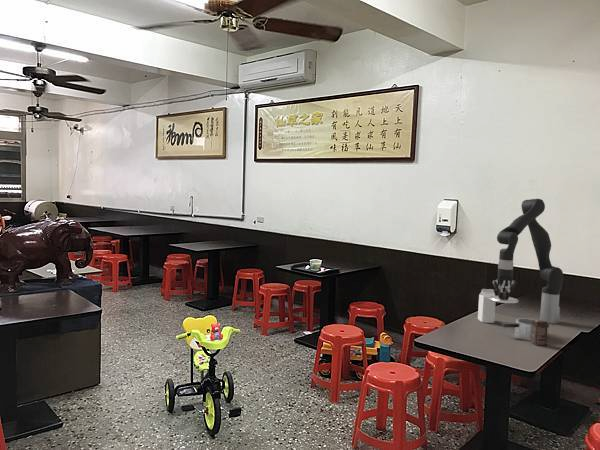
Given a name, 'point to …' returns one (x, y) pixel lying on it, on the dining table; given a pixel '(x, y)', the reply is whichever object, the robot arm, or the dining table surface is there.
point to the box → (539, 332)
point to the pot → (522, 328)
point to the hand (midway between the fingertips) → (503, 298)
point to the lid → (504, 299)
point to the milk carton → (486, 306)
